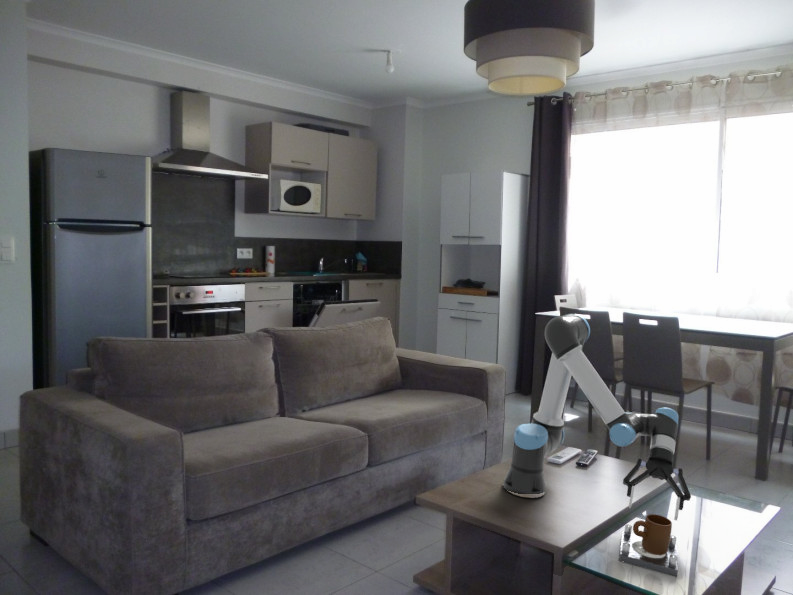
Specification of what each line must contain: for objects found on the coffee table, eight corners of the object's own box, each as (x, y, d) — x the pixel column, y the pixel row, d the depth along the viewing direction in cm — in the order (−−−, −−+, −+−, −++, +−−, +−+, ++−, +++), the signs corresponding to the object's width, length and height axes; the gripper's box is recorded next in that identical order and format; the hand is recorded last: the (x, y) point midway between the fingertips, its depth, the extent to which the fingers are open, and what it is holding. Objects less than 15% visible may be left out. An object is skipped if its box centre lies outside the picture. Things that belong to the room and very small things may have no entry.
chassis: (618, 560, 195) (621, 545, 194) (621, 537, 209) (624, 522, 209) (676, 576, 189) (679, 560, 188) (675, 551, 204) (678, 536, 203)
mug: (636, 556, 194) (641, 526, 193) (623, 542, 201) (627, 513, 200) (672, 555, 197) (677, 525, 195) (658, 542, 204) (662, 513, 203)
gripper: (701, 466, 215) (694, 528, 203) (621, 448, 224) (610, 506, 213) (704, 456, 209) (697, 519, 198) (623, 437, 219) (611, 497, 207)
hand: (652, 512), depth 205 cm, fingers open, 13 cm apart
